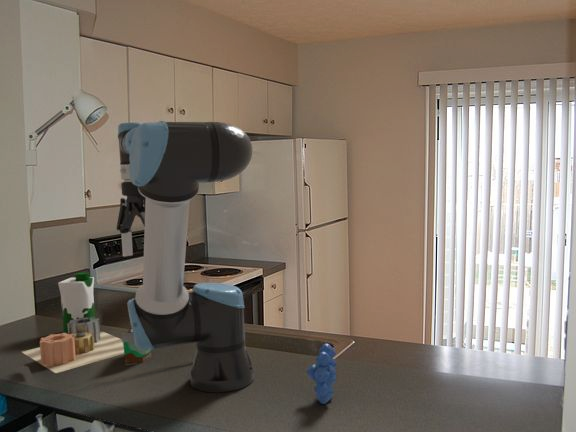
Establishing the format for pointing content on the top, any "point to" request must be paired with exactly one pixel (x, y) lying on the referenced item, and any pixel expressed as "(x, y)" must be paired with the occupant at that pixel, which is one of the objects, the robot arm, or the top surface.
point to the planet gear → (57, 349)
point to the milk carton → (77, 298)
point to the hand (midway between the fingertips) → (140, 258)
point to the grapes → (324, 373)
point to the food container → (133, 350)
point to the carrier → (85, 351)
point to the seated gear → (85, 327)
